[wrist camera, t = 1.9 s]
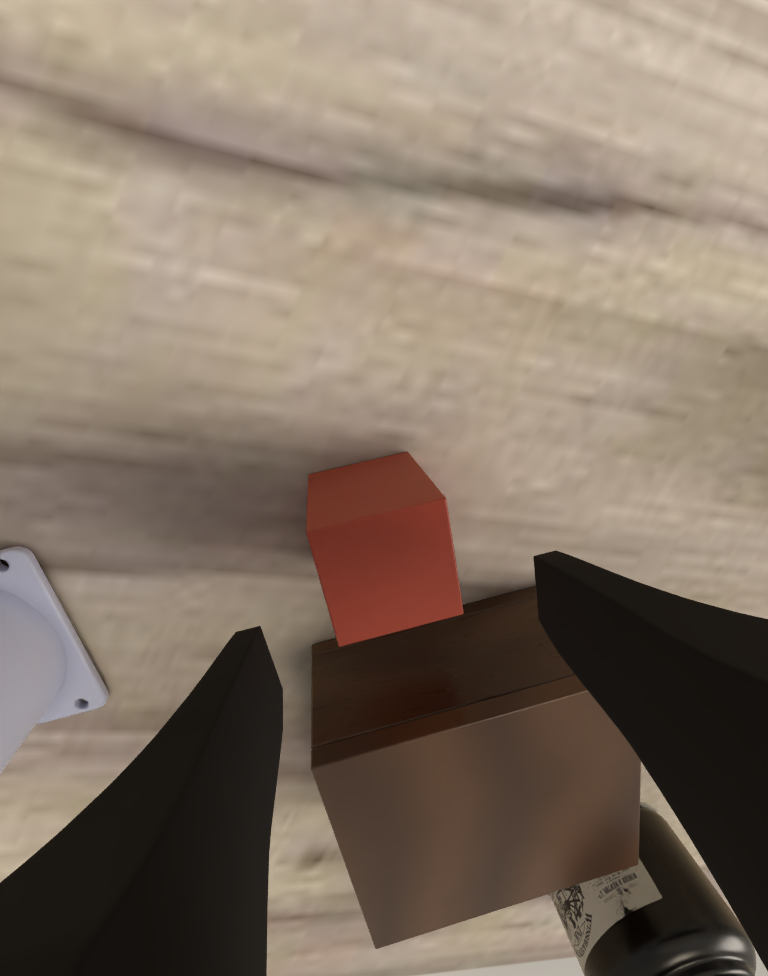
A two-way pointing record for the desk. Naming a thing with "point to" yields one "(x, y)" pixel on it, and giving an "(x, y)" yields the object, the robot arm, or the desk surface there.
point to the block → (382, 547)
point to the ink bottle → (654, 916)
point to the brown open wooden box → (467, 769)
